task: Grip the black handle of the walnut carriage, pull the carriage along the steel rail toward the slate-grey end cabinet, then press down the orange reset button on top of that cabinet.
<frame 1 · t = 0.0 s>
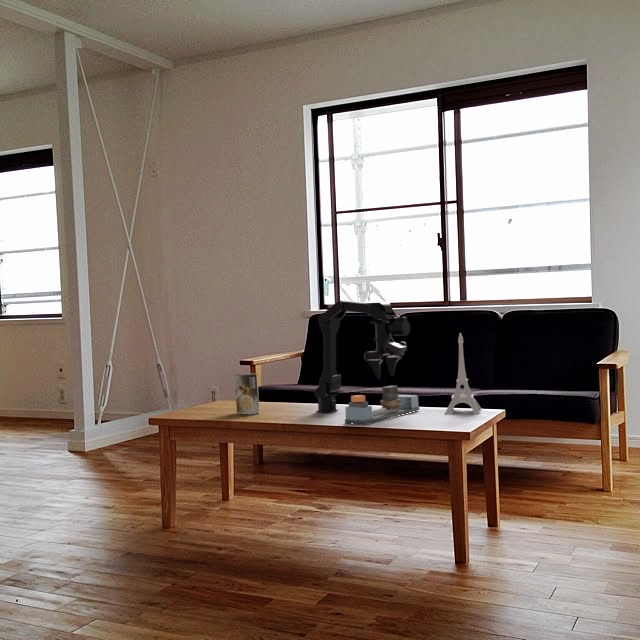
hand: (385, 376, 297), 15 cm above the table, tool pointing down, fingers open, 9 cm apart
coffee box: (248, 414, 319), on the table
rail: (383, 416, 294), on the table
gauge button: (358, 398, 281), point 9 cm above the table, slide at 0.0 cm
carriage: (390, 397, 298), point 7 cm above the table, slide at 15.0 cm
eiffel tower: (463, 412, 299), on the table
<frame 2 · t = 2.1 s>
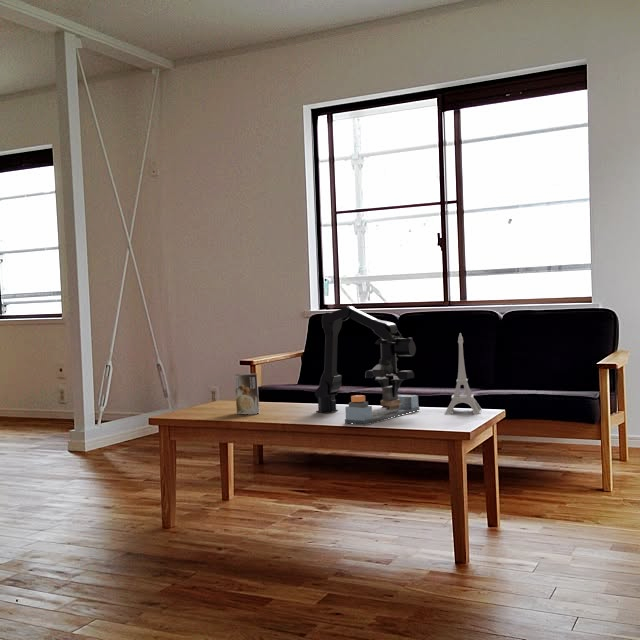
hand: (390, 397, 298), 7 cm above the table, tool pointing down, fingers closed on carriage, 3 cm apart
carriage: (390, 397, 298), point 7 cm above the table, slide at 15.0 cm, touching gripper
everything else where it was.
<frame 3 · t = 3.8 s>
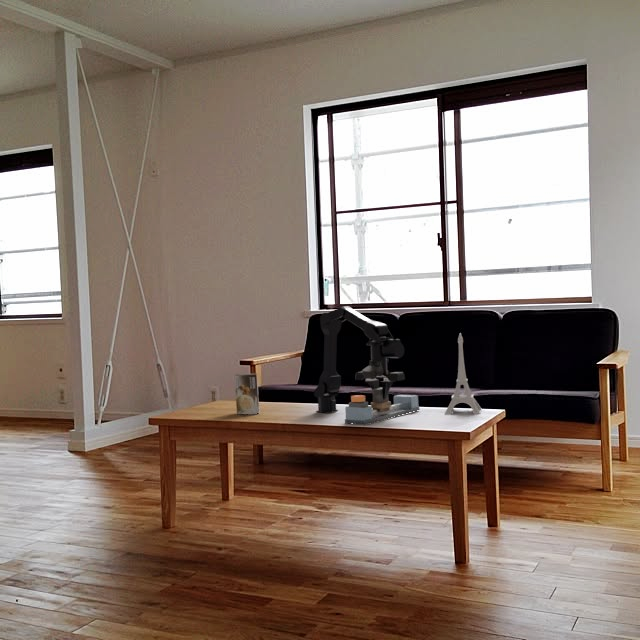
hand: (380, 399, 293), 7 cm above the table, tool pointing down, fingers closed on carriage, 3 cm apart
carriage: (380, 400, 293), point 7 cm above the table, slide at 8.4 cm, touching gripper
everything else where it was.
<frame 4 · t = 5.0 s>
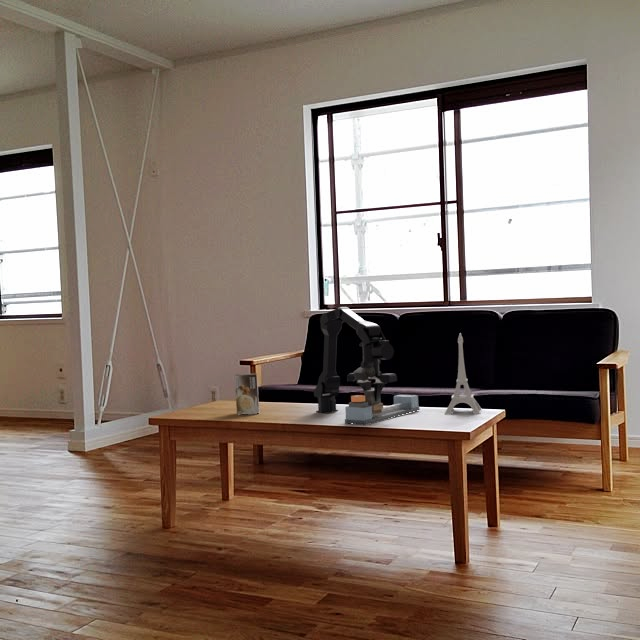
hand: (372, 401, 288), 7 cm above the table, tool pointing down, fingers closed on carriage, 3 cm apart
carriage: (372, 401, 288), point 7 cm above the table, slide at 3.1 cm, touching gripper
everything else where it was.
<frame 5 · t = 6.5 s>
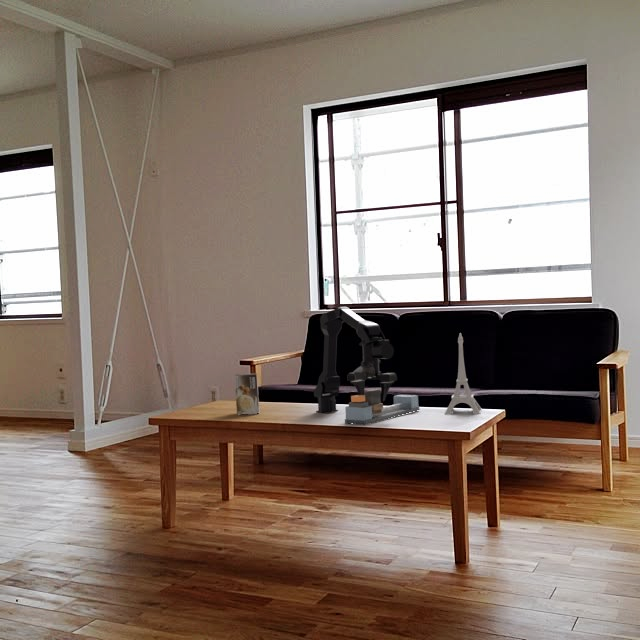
hand: (372, 400, 288), 7 cm above the table, tool pointing down, fingers open, 9 cm apart
carriage: (372, 401, 288), point 7 cm above the table, slide at 3.0 cm
everything else where it was.
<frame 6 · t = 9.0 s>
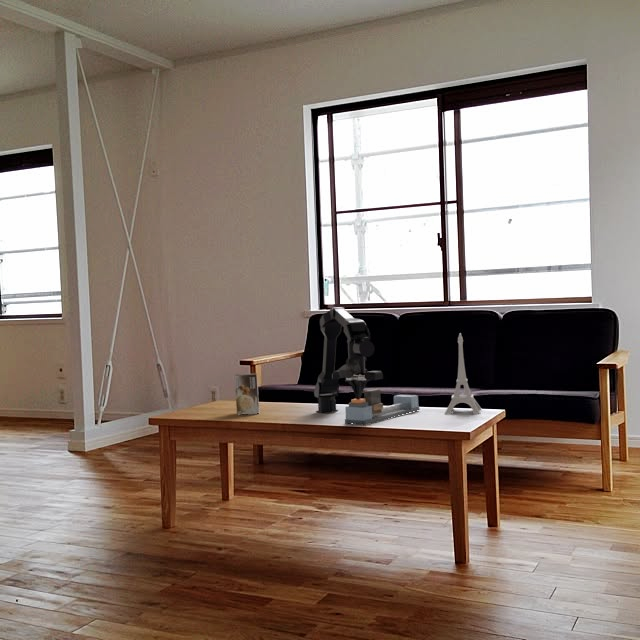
hand: (358, 399, 281), 9 cm above the table, tool pointing down, fingers closed, pressing on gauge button
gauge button: (358, 401, 281), point 8 cm above the table, slide at 1.2 cm, touching gripper
everything else where it was.
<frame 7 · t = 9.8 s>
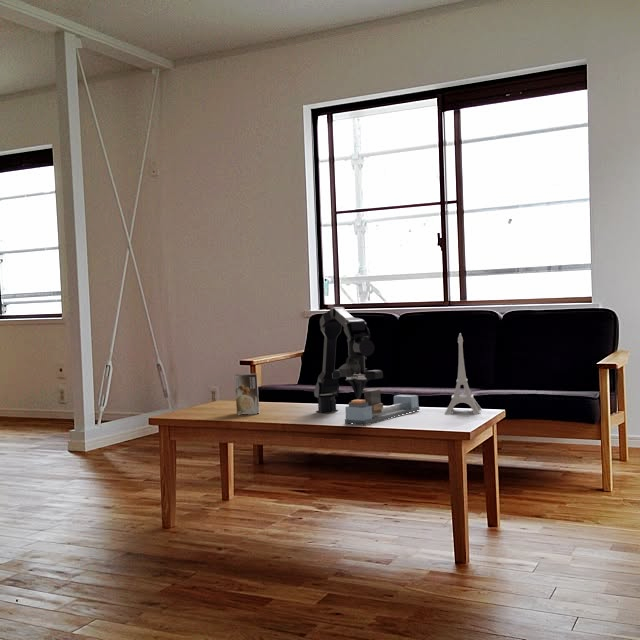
hand: (358, 398, 281), 9 cm above the table, tool pointing down, fingers closed
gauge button: (358, 403, 281), point 7 cm above the table, slide at 1.6 cm
everything else where it was.
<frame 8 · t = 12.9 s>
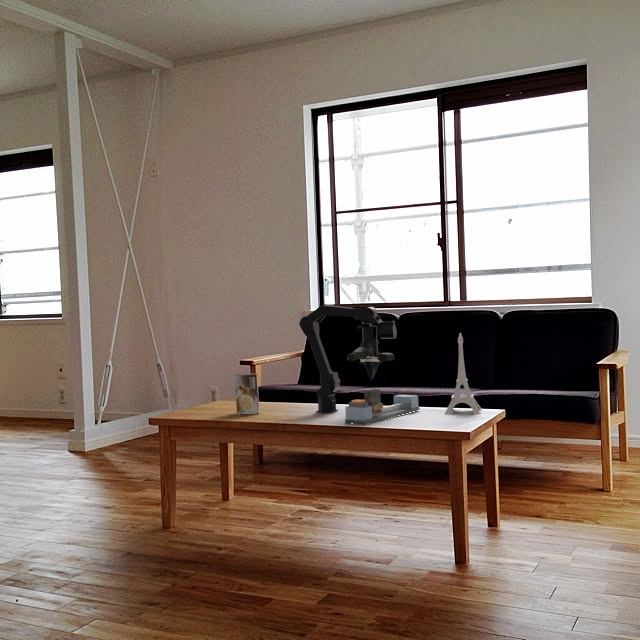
hand: (371, 379, 308), 13 cm above the table, tool pointing down, fingers closed
nothing on the table moved.
at the end: carriage slide at 3.0 cm; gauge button slide at 1.6 cm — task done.
